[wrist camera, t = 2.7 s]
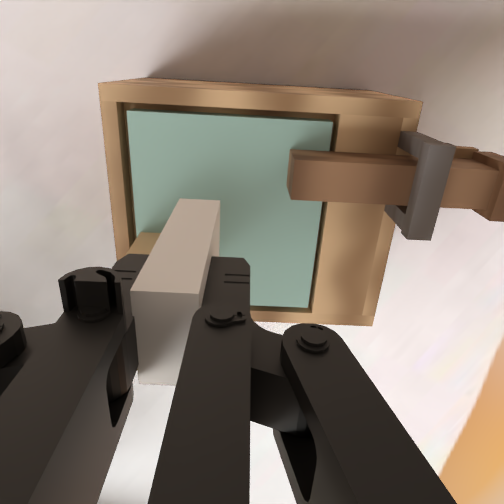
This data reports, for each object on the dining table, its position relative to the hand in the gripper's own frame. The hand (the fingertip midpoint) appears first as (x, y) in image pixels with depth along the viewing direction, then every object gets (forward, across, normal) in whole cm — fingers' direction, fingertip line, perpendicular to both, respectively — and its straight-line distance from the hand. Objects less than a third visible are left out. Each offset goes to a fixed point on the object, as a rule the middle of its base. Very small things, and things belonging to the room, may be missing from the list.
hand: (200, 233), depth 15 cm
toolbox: (+24, +5, -4) cm, 25 cm away
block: (+12, +11, 0) cm, 16 cm away
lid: (+14, 0, -4) cm, 14 cm away
